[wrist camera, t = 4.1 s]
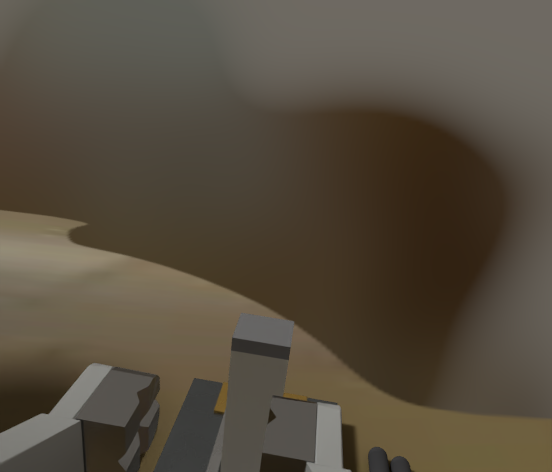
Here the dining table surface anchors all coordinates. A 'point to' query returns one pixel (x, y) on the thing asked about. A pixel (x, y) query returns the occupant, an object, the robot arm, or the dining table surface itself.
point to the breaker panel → (201, 429)
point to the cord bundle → (386, 462)
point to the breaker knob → (253, 387)
